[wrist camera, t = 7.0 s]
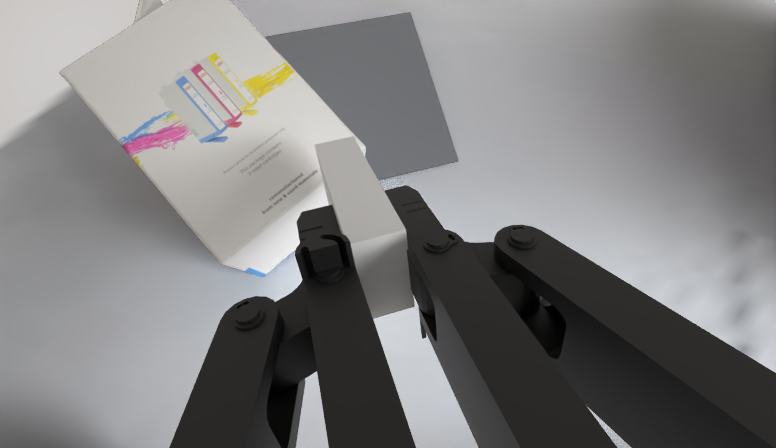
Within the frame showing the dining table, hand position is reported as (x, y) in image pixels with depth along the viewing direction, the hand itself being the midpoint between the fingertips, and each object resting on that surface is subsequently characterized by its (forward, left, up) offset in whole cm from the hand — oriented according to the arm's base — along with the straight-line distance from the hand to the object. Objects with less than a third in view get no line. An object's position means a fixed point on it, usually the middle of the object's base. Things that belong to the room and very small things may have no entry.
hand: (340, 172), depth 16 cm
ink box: (+2, 0, -6) cm, 7 cm away
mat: (0, -9, -11) cm, 14 cm away
